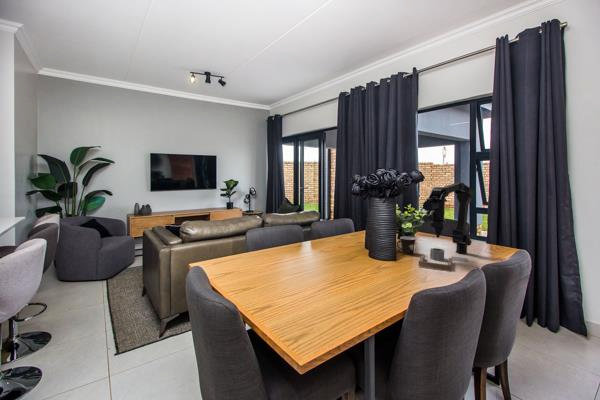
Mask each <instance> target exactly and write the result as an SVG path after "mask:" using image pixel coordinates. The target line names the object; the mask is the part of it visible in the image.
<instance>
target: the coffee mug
mask: <svg viewBox="0 0 600 400" xmlns="http://www.w3.org/2000/svg"><path fill="white" fill-rule="evenodd" d="M416 239H417V238H416V237H413V236H400V240H398V241H397V243H396V247H397V248H398V249H400V250H401V254H403V255H411V256H412V255H414V252H415V245H416ZM399 243H400V246H399Z"/></svg>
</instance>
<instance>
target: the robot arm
mask: <svg viewBox="0 0 600 400" xmlns="http://www.w3.org/2000/svg"><path fill="white" fill-rule="evenodd" d="M452 193H454V194H455V195H456V200H457V201H458V213H457V221H456V222H457V223H456V226H455V228H454V229H452V234H451V239H452V243H453V244H456V245H455V246H456V249H455V254H458V255H468V246H471V245H472V239H471V238H470V235H469V230H468V229H467V223H468V213H469V206H470V205H469V204H470V203H471V202H472V201H473V199H474V198H473V197H474V196H475V195H474V194H475V193H474V190H473V189H472V188H471V187H469V186H468V185H466V184H465V183H464V182H459V181H458V182H454V183H451V184H448V185H446V186H436V187H433V188H432V189H431V191H430V194H429V195H428V198H426V200H425V201H424V202H423V203H422V208H423V210H424V211H426V212H432V213H429V214H424V215H422V216H421V219H422V222H423V223H427V222H429V221H431V222H430V227H432V228H433V229H434V230H435V235H436V238H440V236H441V234H442V232H443V230H444V228H445V223H446V219H445V212H446V211H445V210H446V209H445V208H446V206H445V205H446V202H448V200H447V199H446V198H447V197H448V196H449V194H452Z"/></svg>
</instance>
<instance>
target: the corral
mask: <svg viewBox="0 0 600 400" xmlns="http://www.w3.org/2000/svg"><path fill="white" fill-rule="evenodd" d="M425 259H426V255H425V254H421V256H420V259H419V260H418V267H419V268H421V269H424V268H426V269H428V270H431V269H433V270H435V271H438V270H440V272H443V271H444V272H445V271H447V272H448V273H451V272H452V265H453V264H452V263H453V260H452V258H451V257H448V261H447V264H444V263H437V262H436V263H435V262H430V261H425Z"/></svg>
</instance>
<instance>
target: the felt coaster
mask: <svg viewBox="0 0 600 400" xmlns="http://www.w3.org/2000/svg"><path fill="white" fill-rule="evenodd" d="M450 258H452V261H454V262H463V263H468V261H469V260H468V258H467V257H461V256H451V257H450Z"/></svg>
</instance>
